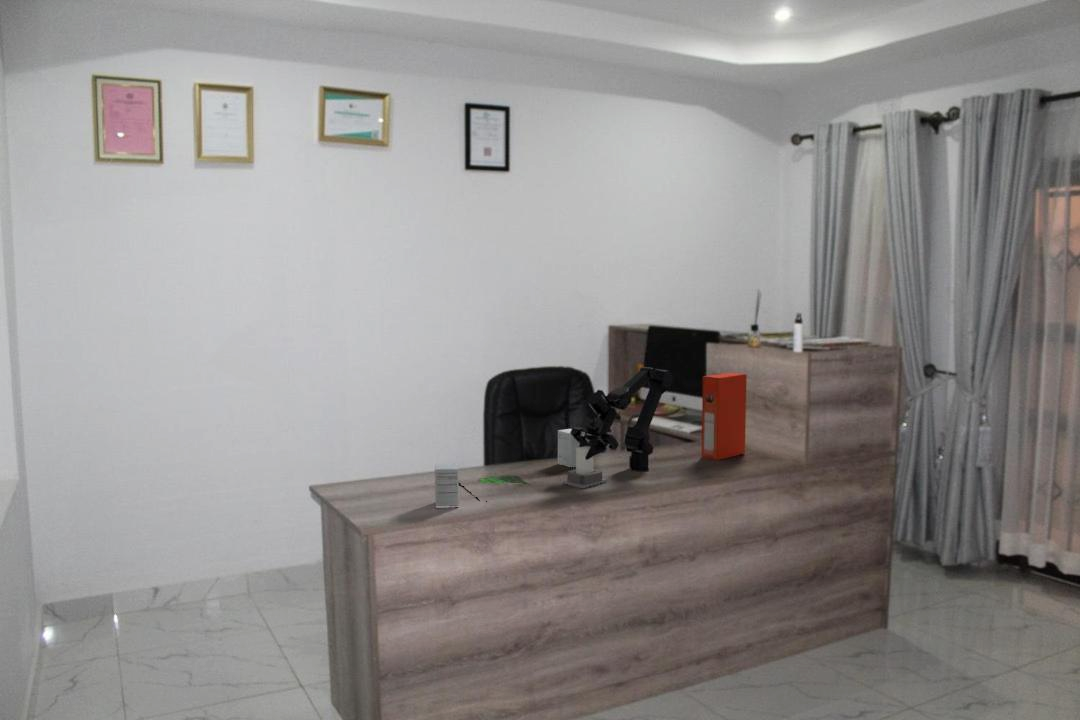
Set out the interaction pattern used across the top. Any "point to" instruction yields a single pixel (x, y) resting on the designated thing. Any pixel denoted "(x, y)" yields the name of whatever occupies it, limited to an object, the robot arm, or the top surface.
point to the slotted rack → (584, 479)
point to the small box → (567, 448)
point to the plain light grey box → (584, 461)
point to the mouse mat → (502, 480)
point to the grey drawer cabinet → (446, 485)
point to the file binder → (723, 415)
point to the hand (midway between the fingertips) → (582, 458)
